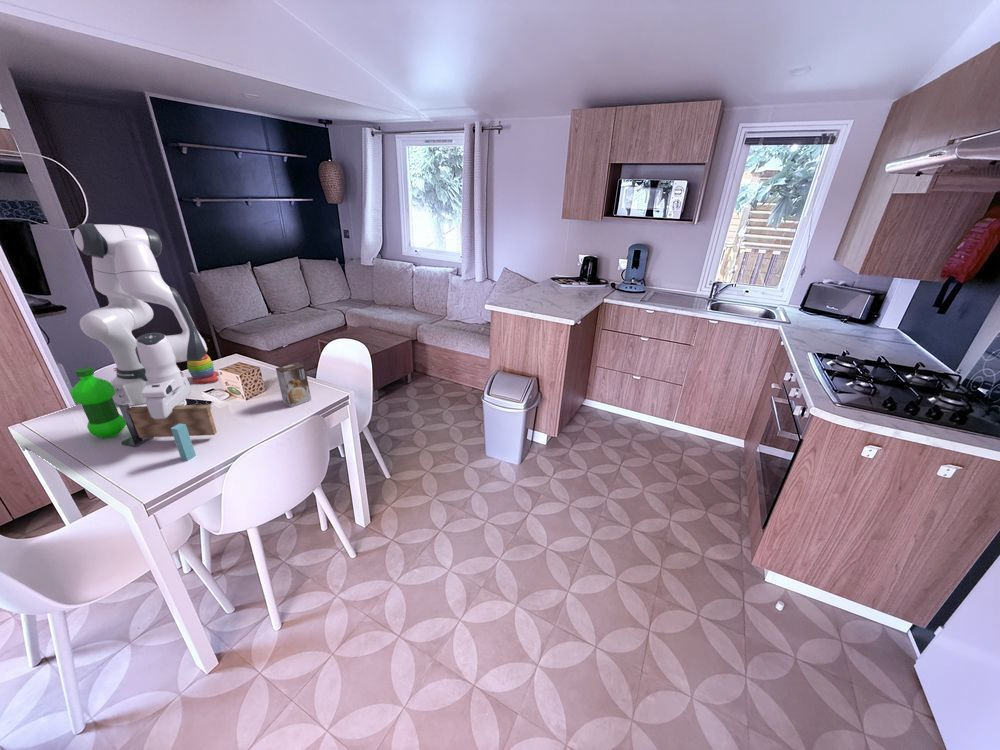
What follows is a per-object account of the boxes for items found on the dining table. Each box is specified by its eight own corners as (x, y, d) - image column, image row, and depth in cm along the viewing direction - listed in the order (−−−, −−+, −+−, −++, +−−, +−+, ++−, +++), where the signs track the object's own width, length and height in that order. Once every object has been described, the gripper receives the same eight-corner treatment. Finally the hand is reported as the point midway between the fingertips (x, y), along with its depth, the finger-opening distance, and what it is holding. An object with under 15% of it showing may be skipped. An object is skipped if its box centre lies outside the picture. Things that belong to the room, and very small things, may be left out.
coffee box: (303, 395, 173) (297, 361, 166) (311, 400, 169) (305, 365, 163) (282, 403, 166) (275, 367, 159) (290, 408, 162) (283, 372, 156)
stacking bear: (218, 382, 180) (208, 345, 173) (191, 386, 175) (179, 348, 168) (218, 373, 189) (209, 337, 181) (192, 377, 184) (181, 340, 176)
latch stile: (181, 459, 130) (170, 428, 125) (189, 454, 132) (179, 423, 127) (187, 460, 129) (176, 429, 124) (196, 455, 132) (185, 424, 127)
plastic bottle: (84, 443, 135) (52, 377, 124) (102, 427, 144) (75, 364, 134) (119, 440, 137) (92, 374, 127) (136, 424, 147) (111, 362, 136)
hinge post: (121, 444, 135) (106, 408, 130) (139, 435, 141) (126, 400, 135) (136, 447, 134) (121, 411, 128) (153, 437, 140) (140, 402, 134)
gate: (137, 438, 136) (126, 410, 131) (142, 434, 138) (131, 406, 133) (214, 435, 139) (206, 408, 135) (218, 431, 141) (210, 404, 137)
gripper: (170, 369, 142) (181, 403, 148) (138, 395, 124) (152, 433, 130) (190, 368, 144) (201, 402, 149) (161, 394, 126) (174, 431, 131)
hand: (178, 416), depth 140 cm, fingers closed
